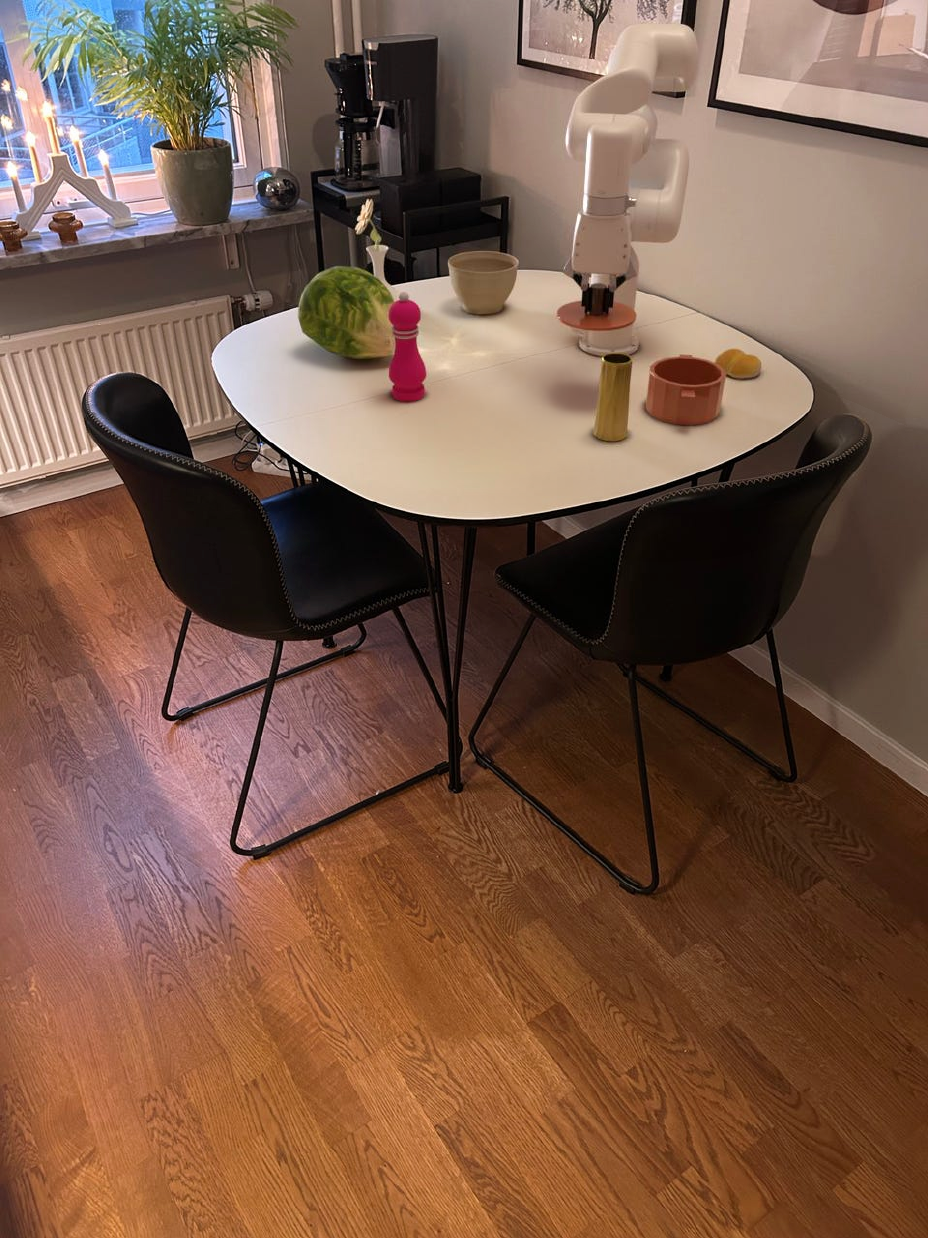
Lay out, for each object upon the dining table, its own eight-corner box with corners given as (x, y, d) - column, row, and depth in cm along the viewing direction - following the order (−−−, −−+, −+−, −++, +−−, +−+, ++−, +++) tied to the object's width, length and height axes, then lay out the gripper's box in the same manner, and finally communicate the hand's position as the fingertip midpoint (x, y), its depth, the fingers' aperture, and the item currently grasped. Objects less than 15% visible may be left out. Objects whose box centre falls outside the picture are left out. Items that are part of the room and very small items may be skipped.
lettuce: (366, 346, 180) (415, 270, 183) (271, 304, 187) (320, 232, 190) (389, 394, 197) (434, 324, 200) (302, 354, 204) (347, 287, 207)
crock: (645, 429, 169) (649, 390, 164) (646, 385, 184) (650, 349, 179) (721, 433, 167) (728, 394, 162) (716, 389, 182) (722, 352, 177)
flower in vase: (363, 299, 225) (354, 188, 209) (409, 300, 223) (404, 189, 208) (350, 318, 215) (340, 203, 199) (399, 320, 213) (392, 204, 198)
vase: (605, 444, 164) (612, 367, 155) (586, 430, 169) (592, 355, 160) (634, 436, 166) (642, 360, 158) (614, 423, 171) (621, 348, 162)
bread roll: (744, 383, 184) (748, 364, 181) (708, 369, 189) (711, 351, 187) (769, 372, 188) (773, 352, 186) (732, 359, 193) (736, 340, 191)
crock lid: (553, 332, 167) (554, 297, 163) (559, 304, 178) (561, 271, 175) (635, 336, 165) (639, 301, 161) (636, 307, 176) (640, 274, 173)
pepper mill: (432, 389, 183) (429, 287, 171) (419, 404, 178) (414, 300, 166) (398, 385, 185) (392, 283, 173) (384, 399, 180) (377, 296, 168)
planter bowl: (518, 320, 212) (519, 271, 206) (448, 320, 213) (447, 272, 206) (516, 296, 225) (517, 249, 218) (449, 296, 225) (448, 250, 219)
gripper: (653, 200, 161) (642, 305, 173) (559, 197, 164) (553, 301, 175) (653, 211, 156) (641, 320, 167) (555, 208, 158) (550, 315, 169)
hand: (596, 309), depth 171 cm, fingers closed on crock lid, 3 cm apart
